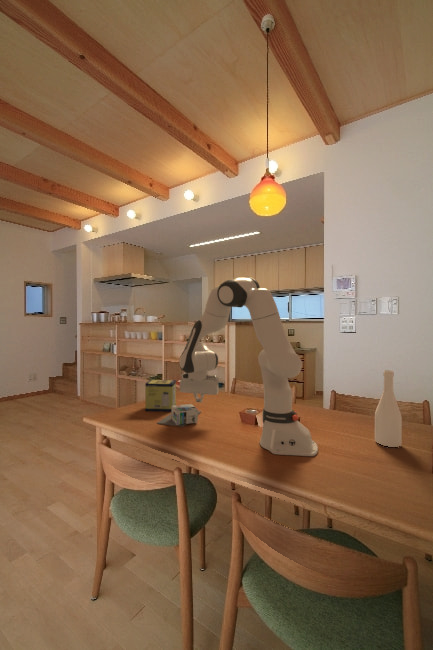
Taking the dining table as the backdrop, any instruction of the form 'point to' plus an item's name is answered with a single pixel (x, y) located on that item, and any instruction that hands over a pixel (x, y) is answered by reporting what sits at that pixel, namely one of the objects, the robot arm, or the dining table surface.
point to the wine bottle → (388, 415)
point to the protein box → (160, 395)
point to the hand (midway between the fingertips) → (199, 402)
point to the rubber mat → (171, 421)
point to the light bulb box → (184, 414)
